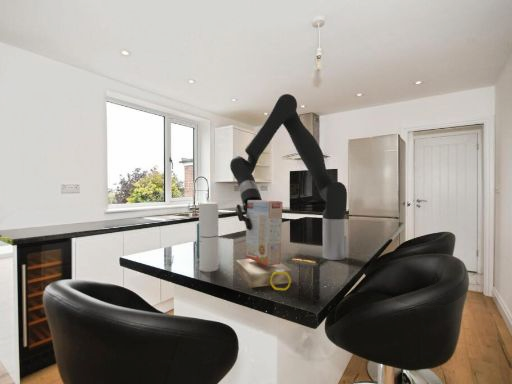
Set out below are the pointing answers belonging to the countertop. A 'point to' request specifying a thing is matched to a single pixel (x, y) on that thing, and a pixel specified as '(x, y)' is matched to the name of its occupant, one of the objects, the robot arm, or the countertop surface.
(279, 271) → the yellow ring
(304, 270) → the countertop surface
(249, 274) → the oak plinth
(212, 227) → the cylindrical container
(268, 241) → the cracker box
